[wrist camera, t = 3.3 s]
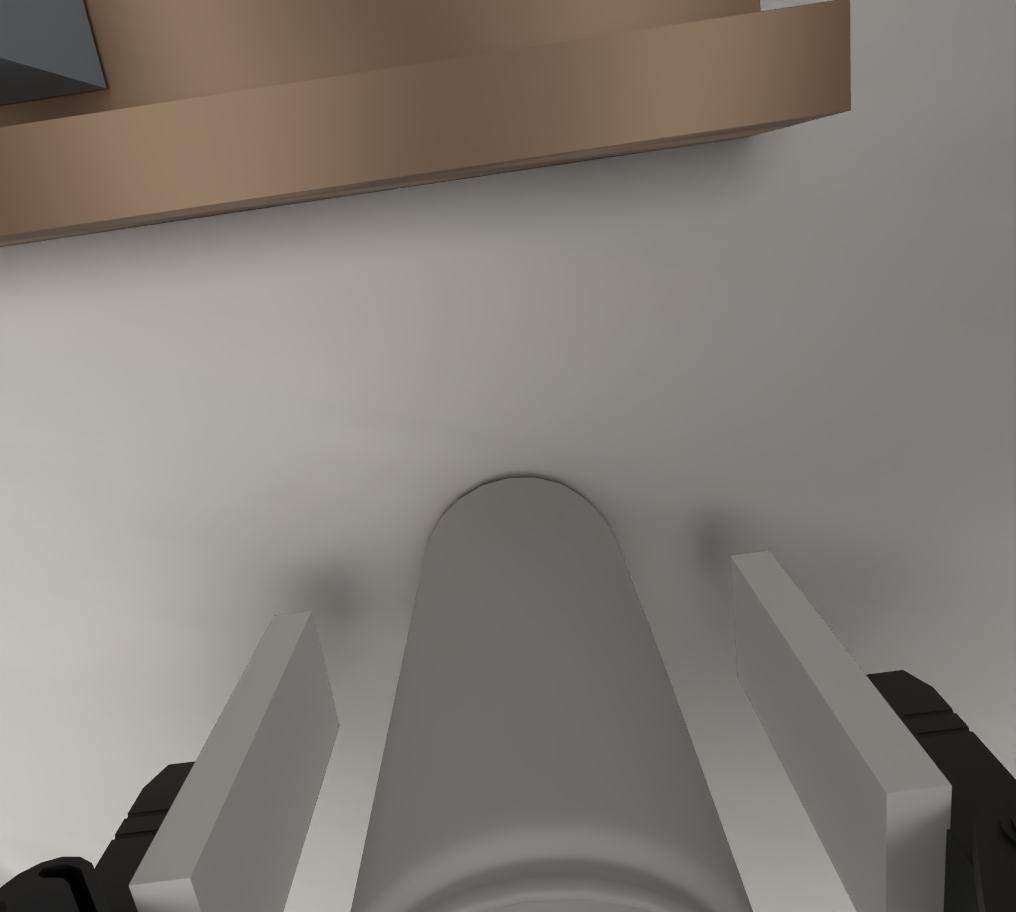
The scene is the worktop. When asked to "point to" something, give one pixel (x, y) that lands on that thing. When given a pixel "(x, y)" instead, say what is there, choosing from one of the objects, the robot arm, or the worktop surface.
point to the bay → (394, 98)
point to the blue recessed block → (46, 50)
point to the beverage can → (538, 731)
